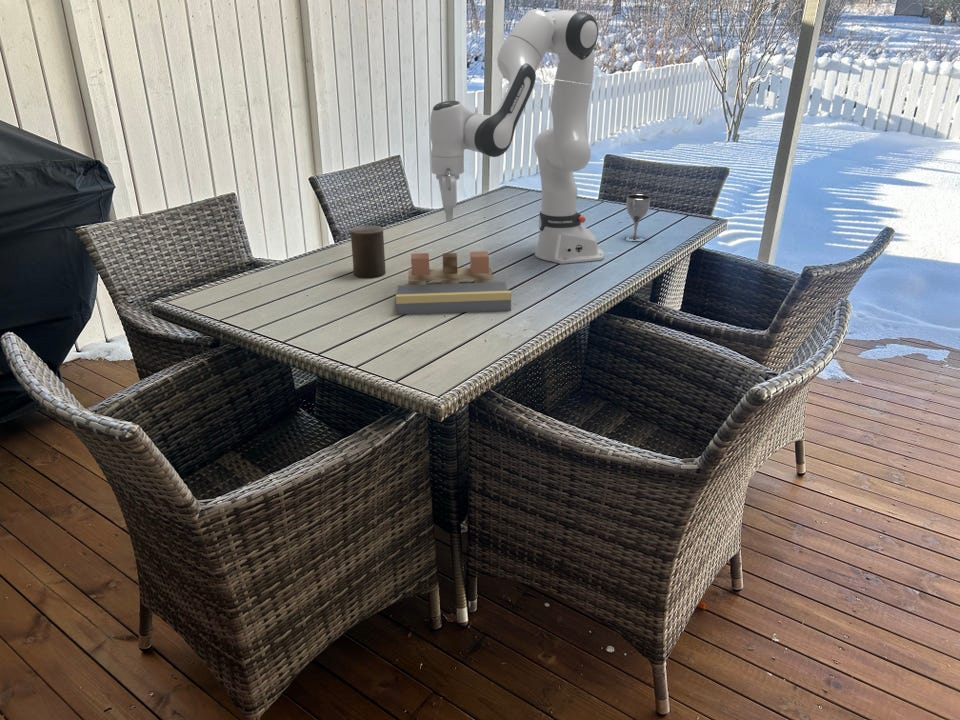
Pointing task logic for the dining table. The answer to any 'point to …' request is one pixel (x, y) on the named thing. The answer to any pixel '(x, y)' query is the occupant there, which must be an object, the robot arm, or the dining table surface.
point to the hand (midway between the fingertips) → (448, 216)
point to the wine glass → (637, 209)
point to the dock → (452, 298)
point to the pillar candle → (368, 251)
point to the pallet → (449, 273)
